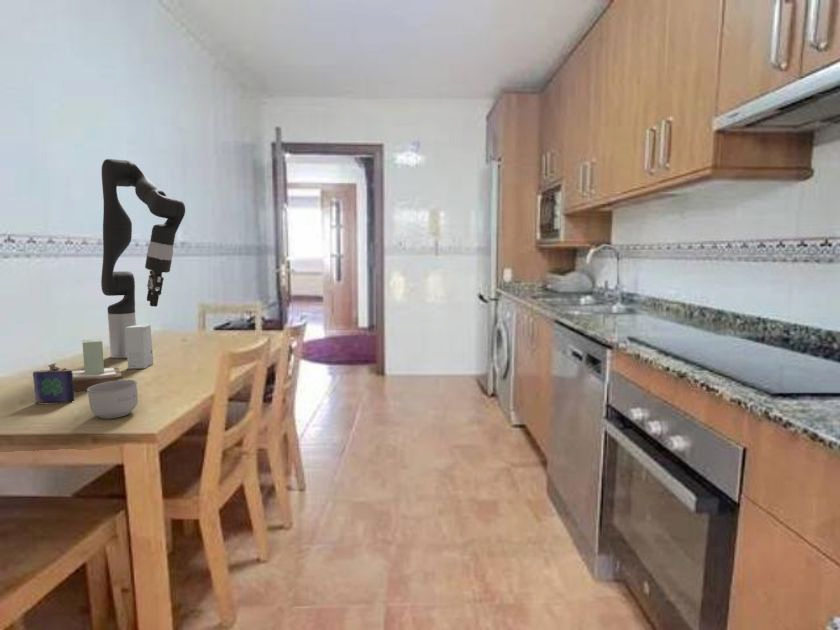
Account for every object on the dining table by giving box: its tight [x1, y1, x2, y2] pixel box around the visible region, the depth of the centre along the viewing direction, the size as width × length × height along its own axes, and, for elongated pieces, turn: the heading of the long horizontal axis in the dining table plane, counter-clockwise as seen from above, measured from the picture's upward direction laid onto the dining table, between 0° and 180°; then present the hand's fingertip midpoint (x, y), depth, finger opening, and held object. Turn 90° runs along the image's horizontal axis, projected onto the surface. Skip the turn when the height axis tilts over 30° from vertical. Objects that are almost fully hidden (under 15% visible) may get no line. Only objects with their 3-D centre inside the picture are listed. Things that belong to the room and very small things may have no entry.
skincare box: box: [125, 324, 154, 370], centre depth 184 cm, size 8×6×15 cm
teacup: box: [86, 378, 139, 420], centre depth 131 cm, size 14×11×8 cm
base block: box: [71, 366, 124, 392], centre depth 160 cm, size 14×14×4 cm
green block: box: [82, 338, 105, 375], centre depth 159 cm, size 5×5×10 cm
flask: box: [32, 362, 75, 404], centre depth 140 cm, size 9×3×11 cm, turn 102°
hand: (151, 303), depth 173 cm, fingers open, 8 cm apart
